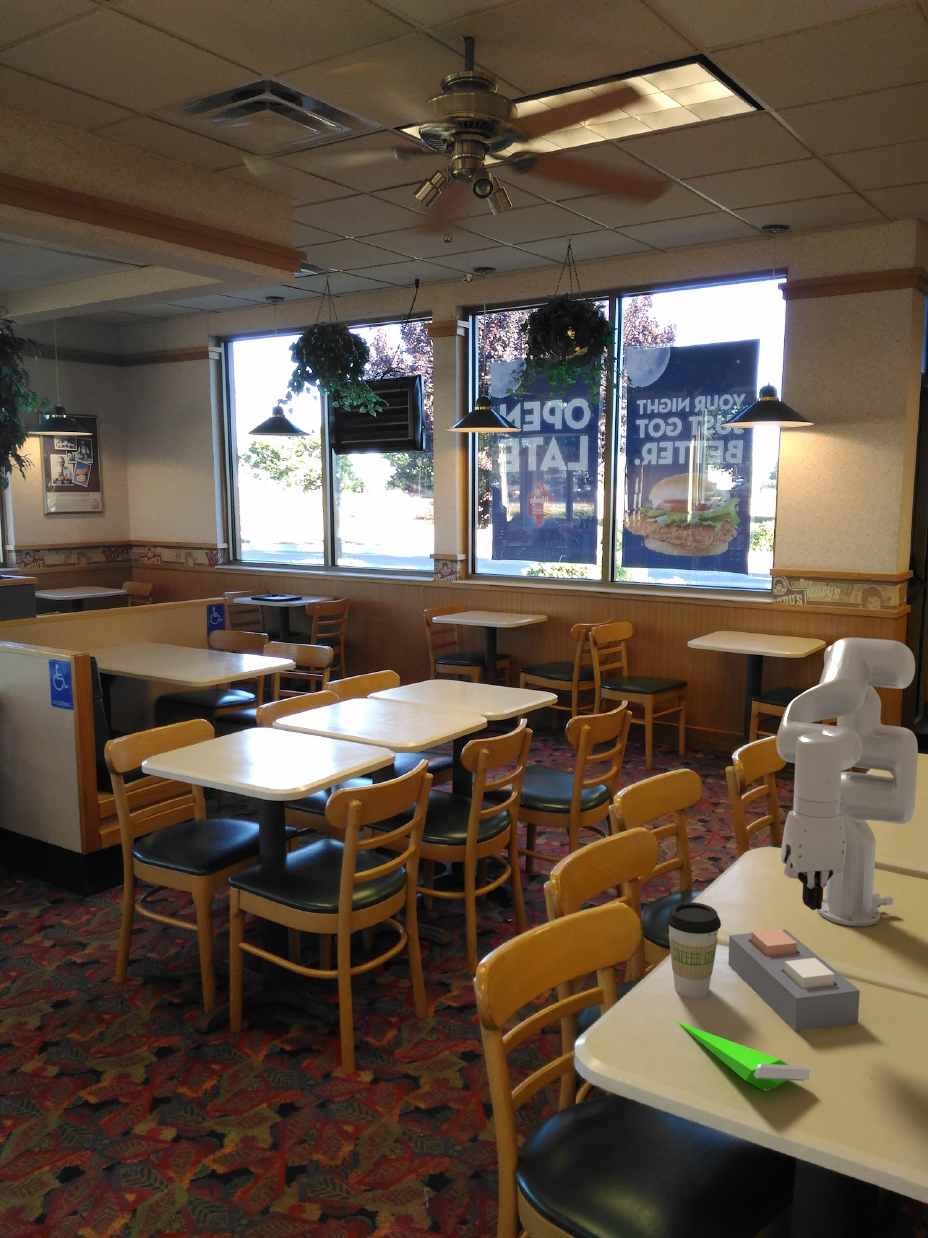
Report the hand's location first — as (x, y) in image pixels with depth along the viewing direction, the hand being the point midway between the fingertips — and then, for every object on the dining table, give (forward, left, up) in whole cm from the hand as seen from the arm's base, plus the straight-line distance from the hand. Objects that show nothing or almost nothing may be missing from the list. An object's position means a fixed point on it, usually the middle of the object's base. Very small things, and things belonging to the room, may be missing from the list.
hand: (812, 906), depth 168 cm
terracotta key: (0, -12, -17) cm, 21 cm away
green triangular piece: (+22, +13, -19) cm, 32 cm away
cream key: (0, 0, -17) cm, 17 cm away
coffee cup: (+17, -11, -19) cm, 28 cm away
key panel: (0, -6, -19) cm, 20 cm away
